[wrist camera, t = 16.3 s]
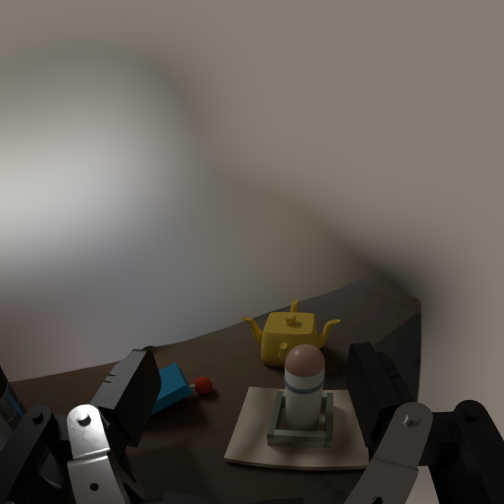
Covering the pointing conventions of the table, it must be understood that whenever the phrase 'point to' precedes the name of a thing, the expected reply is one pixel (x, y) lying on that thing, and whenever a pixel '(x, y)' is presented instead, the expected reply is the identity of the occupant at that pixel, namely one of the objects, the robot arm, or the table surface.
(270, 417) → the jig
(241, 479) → the table surface
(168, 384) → the lever
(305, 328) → the teapot
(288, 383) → the brown-capped white canister
